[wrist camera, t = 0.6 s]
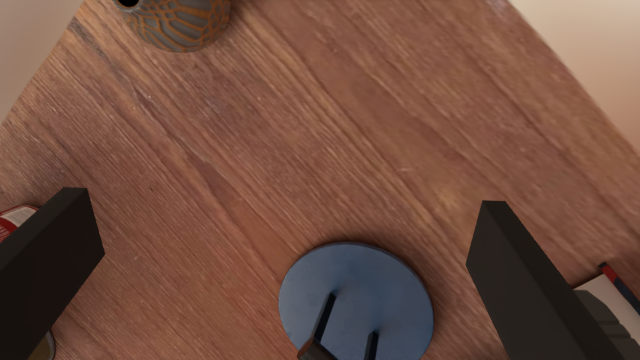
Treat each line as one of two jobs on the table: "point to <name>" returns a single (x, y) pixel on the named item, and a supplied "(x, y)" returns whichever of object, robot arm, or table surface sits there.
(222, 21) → the vase
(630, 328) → the book
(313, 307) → the lid
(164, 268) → the table surface
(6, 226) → the soda can
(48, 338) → the canister
